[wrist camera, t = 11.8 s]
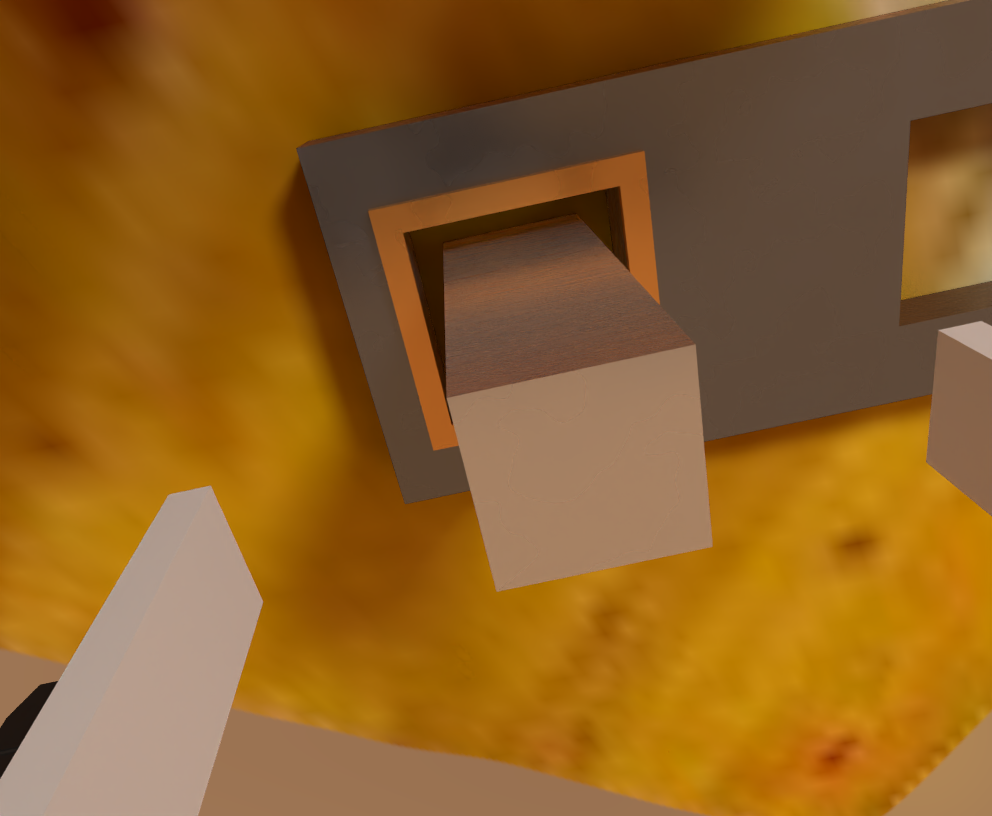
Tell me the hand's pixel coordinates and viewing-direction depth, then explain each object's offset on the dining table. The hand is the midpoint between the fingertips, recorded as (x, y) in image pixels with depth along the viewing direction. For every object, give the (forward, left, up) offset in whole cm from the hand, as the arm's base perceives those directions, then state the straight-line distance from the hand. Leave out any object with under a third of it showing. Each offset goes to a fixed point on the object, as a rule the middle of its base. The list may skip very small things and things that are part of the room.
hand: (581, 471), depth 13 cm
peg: (0, 0, -12) cm, 12 cm away
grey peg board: (+8, 0, -12) cm, 14 cm away
